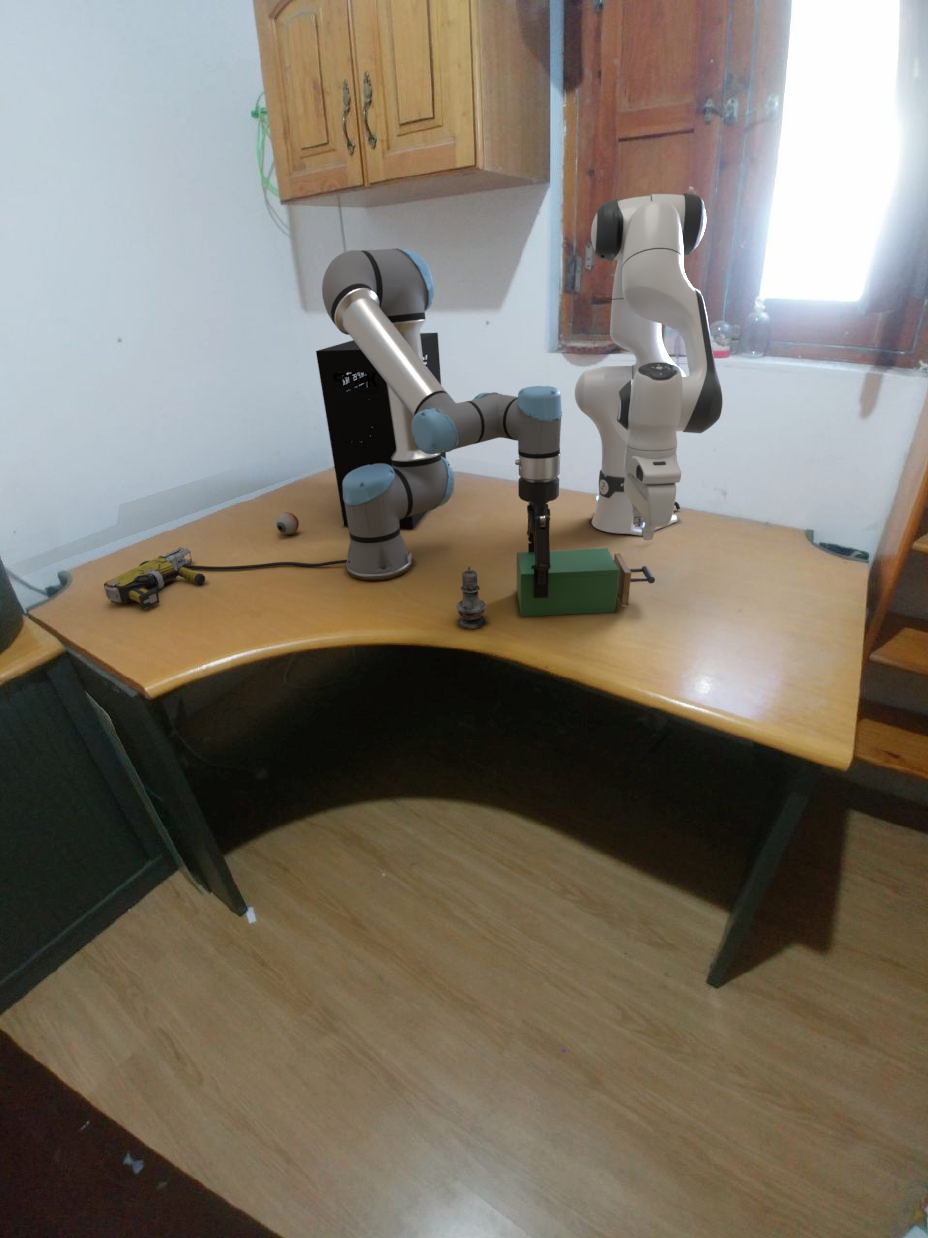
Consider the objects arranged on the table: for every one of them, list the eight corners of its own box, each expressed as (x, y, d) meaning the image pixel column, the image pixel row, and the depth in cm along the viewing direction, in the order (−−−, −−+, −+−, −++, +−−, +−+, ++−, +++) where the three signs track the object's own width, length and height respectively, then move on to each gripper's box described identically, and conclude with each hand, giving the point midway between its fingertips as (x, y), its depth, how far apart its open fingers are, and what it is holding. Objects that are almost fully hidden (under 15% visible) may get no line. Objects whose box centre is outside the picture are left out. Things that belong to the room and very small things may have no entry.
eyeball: (273, 537, 164) (268, 516, 161) (287, 528, 169) (282, 508, 166) (291, 539, 161) (286, 518, 158) (305, 530, 166) (301, 510, 163)
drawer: (643, 583, 127) (646, 551, 124) (655, 604, 119) (659, 571, 116) (535, 588, 128) (536, 557, 124) (540, 609, 120) (541, 576, 116)
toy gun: (228, 555, 146) (178, 544, 150) (153, 596, 126) (97, 583, 130) (231, 573, 149) (181, 562, 153) (157, 616, 129) (102, 602, 132)
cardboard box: (413, 528, 164) (395, 348, 141) (344, 526, 168) (315, 350, 146) (447, 485, 195) (437, 332, 173) (388, 484, 200) (371, 334, 177)
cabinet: (604, 588, 128) (607, 547, 124) (615, 612, 119) (618, 569, 115) (516, 592, 129) (516, 552, 124) (521, 616, 120) (520, 574, 115)
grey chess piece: (484, 630, 116) (481, 573, 110) (454, 628, 117) (450, 572, 111) (489, 614, 121) (487, 560, 115) (460, 613, 122) (457, 559, 116)
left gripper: (513, 460, 121) (514, 561, 132) (524, 497, 101) (524, 612, 112) (551, 458, 121) (549, 559, 132) (568, 495, 101) (564, 610, 112)
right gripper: (619, 447, 119) (614, 513, 126) (647, 478, 101) (639, 553, 108) (651, 445, 118) (644, 512, 125) (684, 476, 101) (674, 552, 108)
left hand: (537, 584), depth 122 cm, fingers closed on cabinet, 10 cm apart
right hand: (642, 531), depth 116 cm, fingers open, 5 cm apart
